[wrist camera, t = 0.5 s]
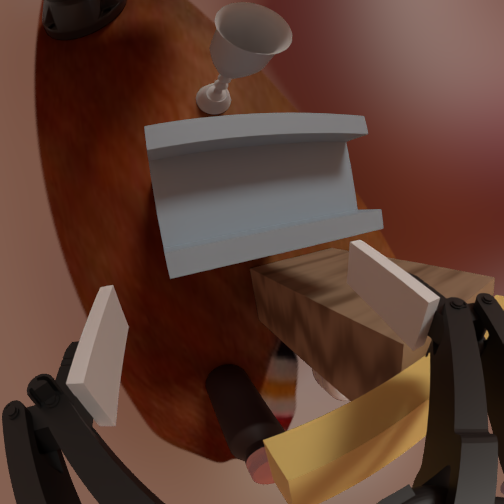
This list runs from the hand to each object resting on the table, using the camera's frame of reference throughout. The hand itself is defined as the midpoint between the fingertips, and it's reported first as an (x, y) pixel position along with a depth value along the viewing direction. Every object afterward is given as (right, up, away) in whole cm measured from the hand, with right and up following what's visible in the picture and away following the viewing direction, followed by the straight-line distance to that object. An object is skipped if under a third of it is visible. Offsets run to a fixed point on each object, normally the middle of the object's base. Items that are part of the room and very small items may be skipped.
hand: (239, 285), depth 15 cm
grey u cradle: (-4, +8, +23) cm, 25 cm away
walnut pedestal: (+8, -3, +28) cm, 29 cm away
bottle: (-3, -19, +26) cm, 32 cm away
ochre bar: (+13, -7, 0) cm, 14 cm away
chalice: (-5, +23, +21) cm, 32 cm away
